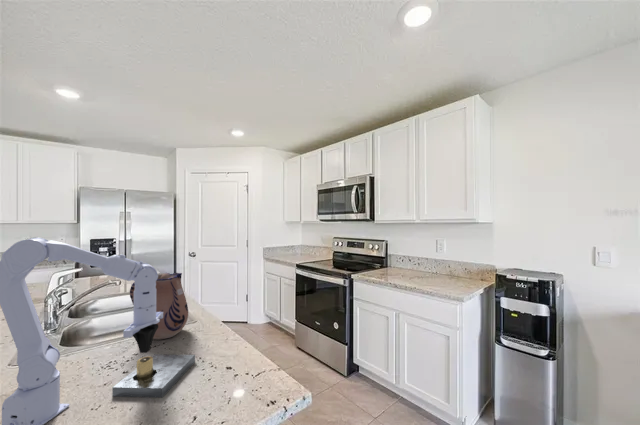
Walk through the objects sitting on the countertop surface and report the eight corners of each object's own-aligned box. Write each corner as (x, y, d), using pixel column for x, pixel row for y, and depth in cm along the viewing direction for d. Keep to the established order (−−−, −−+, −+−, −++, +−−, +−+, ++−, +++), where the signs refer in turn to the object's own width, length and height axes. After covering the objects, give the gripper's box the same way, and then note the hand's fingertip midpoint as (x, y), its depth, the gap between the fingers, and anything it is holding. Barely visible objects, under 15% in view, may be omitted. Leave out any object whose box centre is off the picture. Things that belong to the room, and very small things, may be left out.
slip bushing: (146, 388, 79) (146, 363, 79) (133, 387, 79) (133, 362, 79) (155, 379, 83) (155, 356, 83) (143, 379, 83) (143, 355, 83)
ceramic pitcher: (197, 331, 117) (197, 273, 117) (144, 353, 99) (145, 283, 99) (173, 323, 126) (173, 269, 126) (121, 342, 108) (121, 278, 108)
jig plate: (162, 397, 74) (162, 388, 75) (112, 396, 75) (112, 387, 75) (194, 362, 92) (195, 354, 93) (154, 361, 93) (154, 354, 93)
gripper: (141, 314, 74) (141, 365, 74) (172, 298, 88) (172, 340, 88) (115, 314, 74) (115, 364, 74) (151, 298, 89) (151, 340, 88)
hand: (144, 351), depth 81 cm, fingers closed
